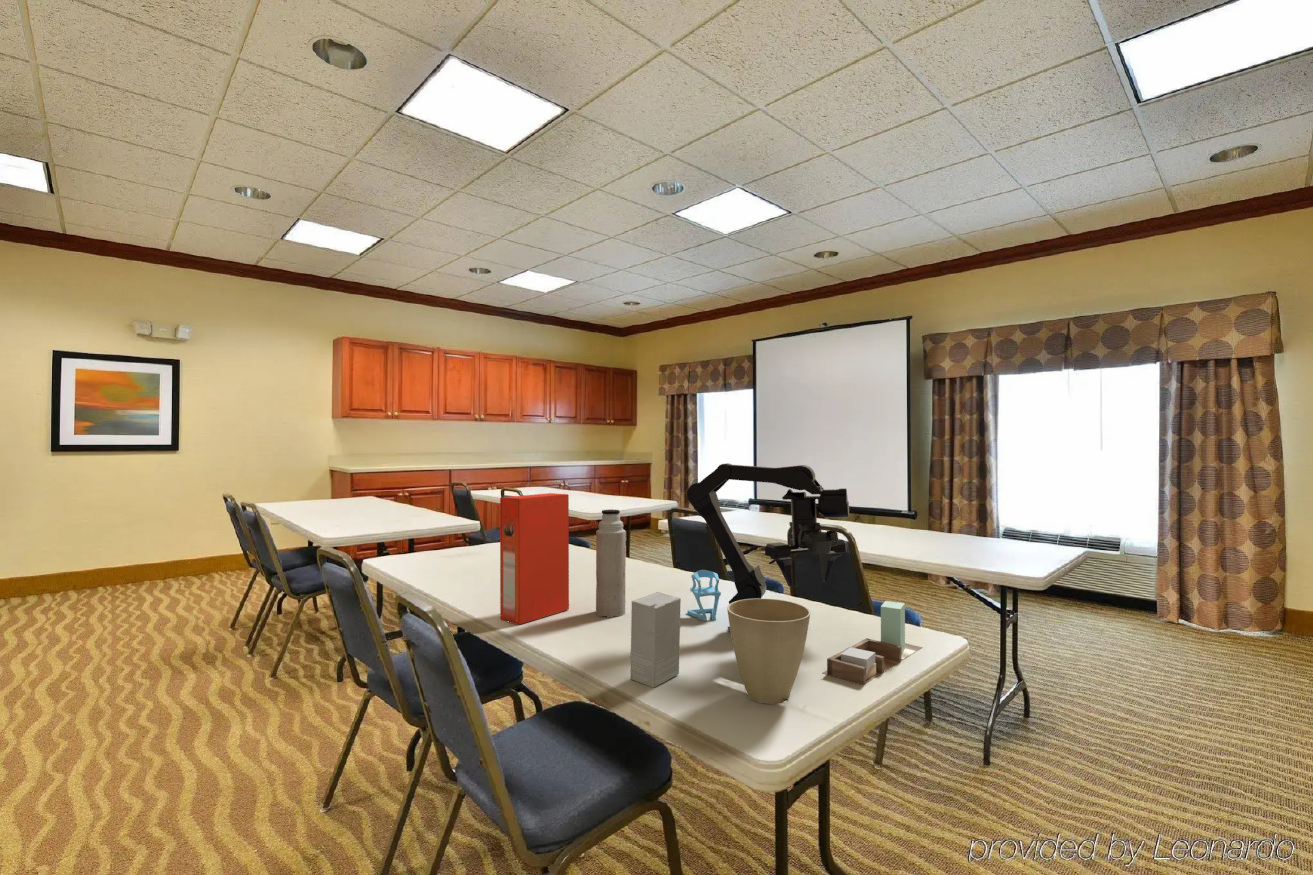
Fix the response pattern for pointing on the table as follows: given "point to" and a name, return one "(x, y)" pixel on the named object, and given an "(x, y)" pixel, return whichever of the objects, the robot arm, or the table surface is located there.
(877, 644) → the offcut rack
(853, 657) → the grey offcut slab
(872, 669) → the birch offcut slab
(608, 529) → the thermos bottle
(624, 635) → the table surface
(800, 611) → the plant pot
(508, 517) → the file binder
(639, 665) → the skincare box
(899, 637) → the mint green block
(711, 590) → the chair
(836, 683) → the table surface
